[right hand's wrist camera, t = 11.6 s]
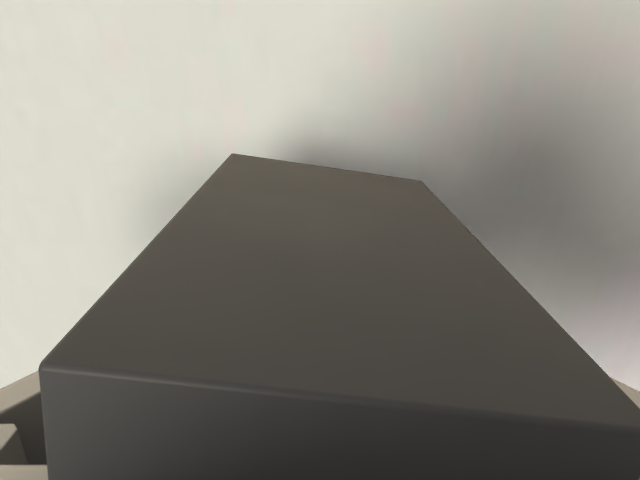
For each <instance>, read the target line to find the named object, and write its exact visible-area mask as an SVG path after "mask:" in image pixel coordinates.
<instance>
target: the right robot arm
mask: <svg viewBox="0 0 640 480" xmlns="http://www.w3.org/2000/svg"><path fill="white" fill-rule="evenodd" d="M611 379H612V378H611ZM612 380H613V381H614V382H615V383H616V384H617V385H618V386H619V387H620V388H621V389H622V391H623V392H624V393H625V394H626V395H627V396H628V397H629V398H630V399H631V400H632V401H633V402H634V403H635V404H636V405H637V406H638V407H639V408H640V392H639V391H637V390H635V389H633V388H631V387H629V386H627V385H625V384H623V383H621V382H619V381H616V380H614V379H612ZM0 480H48V471H47V460H46V449H45V437H44V426H43V415H42V404H41V392H40V381H39V371H37V372H35V373H33V374H31V375H29V376H27V377H24V378H22V379H20V380H18V381H16V382H14V383H12V384H10V385H8V386H6V387H4V388H2V389H0ZM639 480H640V479H639Z"/></svg>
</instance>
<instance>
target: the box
mask: <svg viewBox="0 0 640 480" xmlns="http://www.w3.org/2000/svg"><path fill="white" fill-rule="evenodd" d="M39 381H40V392H41V404H42V415H43V426H44V437H45V449H46V460H47V471H48V480H639V479H640V408H639V407H638V406H637V405H636V404H635V403H634V402H633V401H632V400H631V399H630V398H629V397H628V396H627V395H626V394H625V393H624V392H623V391H622V389H621V388H620V387H619V386H618V385H617V384H616V383H615V382H614V381H613V380H612V379H611V378H610V377H609V376H608V375H607V374H606V373H605V372H604V371H603V370H602V369H601V368H600V367H599V366H598V364H597V363H596V362H595V361H594V360H593V359H592V358H591V357H590V356H589V355H588V354H587V353H586V352H585V351H584V350H583V349H582V348H581V347H580V346H579V345H578V344H577V343H576V342H575V341H574V340H573V338H572V337H571V336H570V335H569V334H568V333H567V332H566V331H565V330H564V329H563V328H562V327H561V326H560V325H559V324H558V323H557V322H556V321H555V320H554V319H553V318H552V317H551V316H550V315H549V314H548V312H547V311H546V310H545V309H544V308H543V307H542V306H541V305H540V304H539V303H538V302H537V301H536V300H535V299H534V298H533V297H532V296H531V295H530V294H529V293H528V292H527V291H526V290H525V289H524V288H523V286H522V285H521V284H520V283H519V282H518V281H517V280H516V279H515V278H514V277H513V276H512V275H511V274H510V273H509V272H508V271H507V270H506V269H505V268H504V267H503V266H502V265H501V264H500V263H499V262H498V260H497V259H496V258H495V257H494V256H493V255H492V254H491V253H490V252H489V251H488V250H487V249H486V248H485V247H484V246H483V245H482V244H481V243H480V242H479V241H478V240H477V239H476V238H475V237H474V236H473V234H472V233H471V232H470V231H469V230H468V229H467V228H466V227H465V226H464V225H463V224H462V223H461V222H460V221H459V220H458V219H457V218H456V217H455V216H454V215H453V214H452V213H451V212H450V211H449V209H448V208H447V207H446V206H445V205H444V204H443V203H442V202H441V201H440V200H439V199H438V198H437V197H436V196H435V195H434V194H433V193H432V192H431V191H430V190H429V189H428V188H427V187H426V186H425V185H424V183H423V182H421V181H417V180H410V179H404V178H397V177H390V176H383V175H376V174H369V173H363V172H356V171H349V170H342V169H335V168H328V167H321V166H315V165H308V164H301V163H294V162H287V161H280V160H274V159H267V158H260V157H253V156H246V155H239V154H231V155H230V156H229V157H228V158H227V159H226V161H225V162H224V163H223V164H222V165H221V166H220V167H219V168H218V169H217V170H216V171H215V173H214V174H213V175H212V176H211V177H210V178H209V179H208V180H207V181H206V182H205V183H204V185H203V186H202V187H201V188H200V189H199V190H198V191H197V192H196V193H195V194H194V196H193V197H192V198H191V199H190V200H189V201H188V202H187V203H186V204H185V205H184V206H183V208H182V209H181V210H180V211H179V212H178V213H177V214H176V215H175V216H174V217H173V218H172V220H171V221H170V222H169V223H168V224H167V225H166V226H165V227H164V228H163V229H162V231H161V232H160V233H159V234H158V235H157V236H156V237H155V238H154V239H153V240H152V241H151V243H150V244H149V245H148V246H147V247H146V248H145V249H144V250H143V251H142V252H141V253H140V255H139V256H138V257H137V258H136V259H135V260H134V261H133V262H132V263H131V264H130V265H129V267H128V268H127V269H126V270H125V271H124V272H123V273H122V274H121V275H120V276H119V278H118V279H117V280H116V281H115V282H114V283H113V284H112V285H111V286H110V287H109V288H108V290H107V291H106V292H105V293H104V294H103V295H102V296H101V297H100V298H99V299H98V300H97V302H96V303H95V304H94V305H93V306H92V307H91V308H90V309H89V310H88V311H87V313H86V314H85V315H84V316H83V317H82V318H81V319H80V320H79V321H78V322H77V323H76V325H75V326H74V327H73V328H72V329H71V330H70V331H69V332H68V333H67V334H66V335H65V337H64V338H63V339H62V340H61V341H60V342H59V343H58V344H57V345H56V346H55V348H54V349H53V350H52V351H51V352H50V353H49V354H48V355H47V356H46V357H45V358H44V360H43V361H42V362H41V364H40V366H39Z"/></svg>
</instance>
